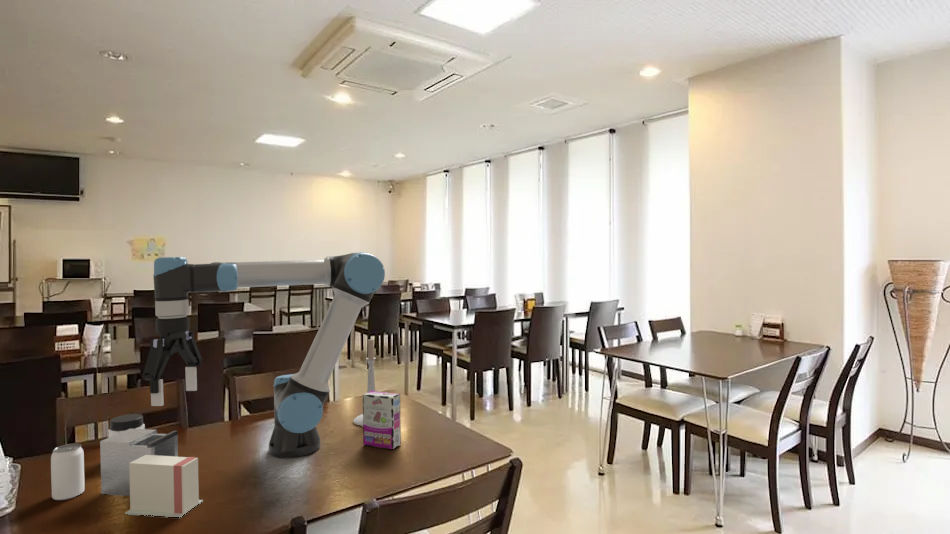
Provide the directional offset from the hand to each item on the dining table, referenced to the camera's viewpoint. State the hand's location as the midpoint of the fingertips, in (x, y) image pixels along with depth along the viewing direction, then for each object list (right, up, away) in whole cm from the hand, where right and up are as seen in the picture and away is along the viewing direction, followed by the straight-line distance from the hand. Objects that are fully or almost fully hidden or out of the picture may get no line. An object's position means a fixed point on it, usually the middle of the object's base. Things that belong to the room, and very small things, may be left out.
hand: (175, 397), depth 134 cm
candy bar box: (+49, -22, +28) cm, 61 cm away
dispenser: (-9, -23, -1) cm, 25 cm away
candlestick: (+41, -22, +51) cm, 69 cm away
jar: (-25, -23, +19) cm, 39 cm away
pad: (+4, -23, -12) cm, 26 cm away
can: (-24, -23, -5) cm, 34 cm away
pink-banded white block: (+4, -23, -11) cm, 26 cm away
